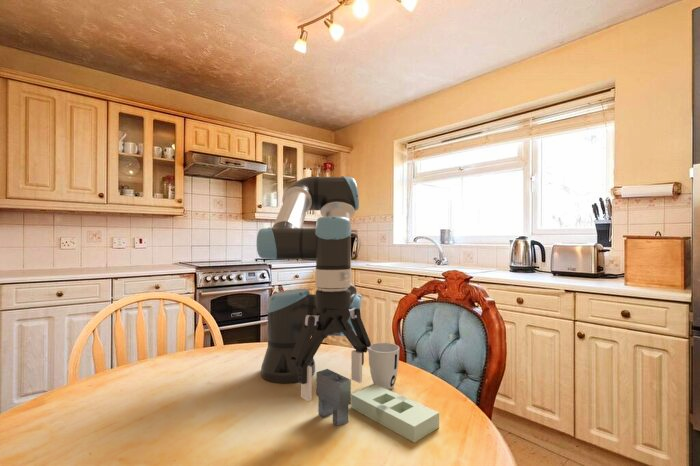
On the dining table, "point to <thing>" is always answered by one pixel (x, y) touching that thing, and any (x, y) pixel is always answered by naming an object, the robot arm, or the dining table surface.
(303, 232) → the robot arm
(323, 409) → the grey foam block
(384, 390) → the block with rectangular hole
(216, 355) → the dining table surface
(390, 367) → the cup
